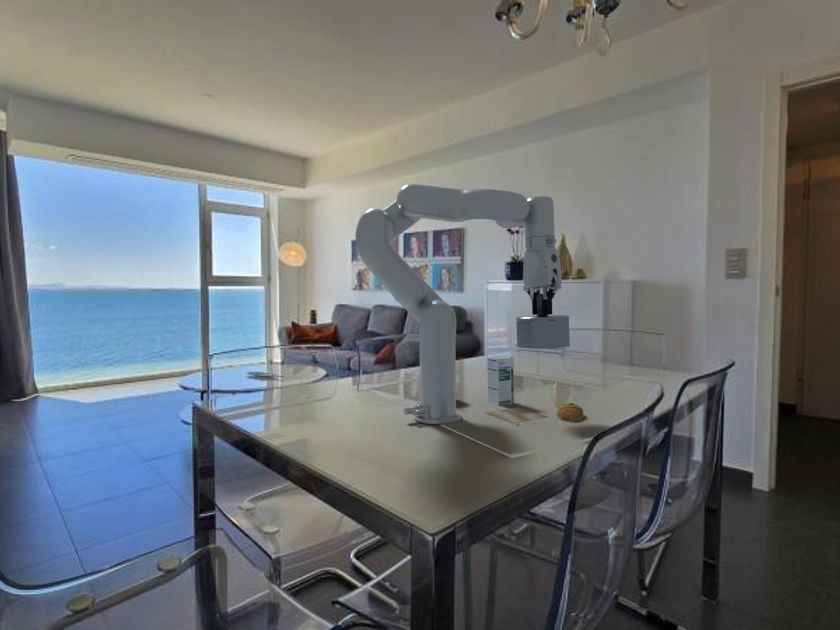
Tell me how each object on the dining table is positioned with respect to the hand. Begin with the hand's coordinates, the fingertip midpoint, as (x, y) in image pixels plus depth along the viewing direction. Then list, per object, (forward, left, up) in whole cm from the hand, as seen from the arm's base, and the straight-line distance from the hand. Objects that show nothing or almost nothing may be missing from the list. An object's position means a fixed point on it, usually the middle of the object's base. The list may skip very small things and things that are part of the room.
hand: (542, 313), depth 126 cm
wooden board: (-5, +4, -28) cm, 29 cm away
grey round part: (0, 0, -8) cm, 8 cm away
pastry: (+6, -5, -28) cm, 29 cm away
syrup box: (+1, +18, -28) cm, 33 cm away
